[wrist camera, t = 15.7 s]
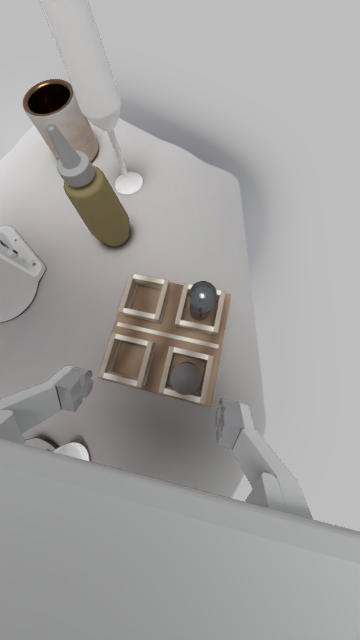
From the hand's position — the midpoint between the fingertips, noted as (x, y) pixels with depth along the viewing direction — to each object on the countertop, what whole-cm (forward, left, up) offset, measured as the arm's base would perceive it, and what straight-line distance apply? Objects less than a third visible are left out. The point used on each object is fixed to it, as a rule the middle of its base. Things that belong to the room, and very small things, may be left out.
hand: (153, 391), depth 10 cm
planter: (-58, +6, -21) cm, 62 cm away
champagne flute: (-42, +12, -21) cm, 49 cm away
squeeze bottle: (-31, +3, -21) cm, 38 cm away
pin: (-7, +9, -19) cm, 22 cm away
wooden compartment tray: (-6, +1, -21) cm, 22 cm away
